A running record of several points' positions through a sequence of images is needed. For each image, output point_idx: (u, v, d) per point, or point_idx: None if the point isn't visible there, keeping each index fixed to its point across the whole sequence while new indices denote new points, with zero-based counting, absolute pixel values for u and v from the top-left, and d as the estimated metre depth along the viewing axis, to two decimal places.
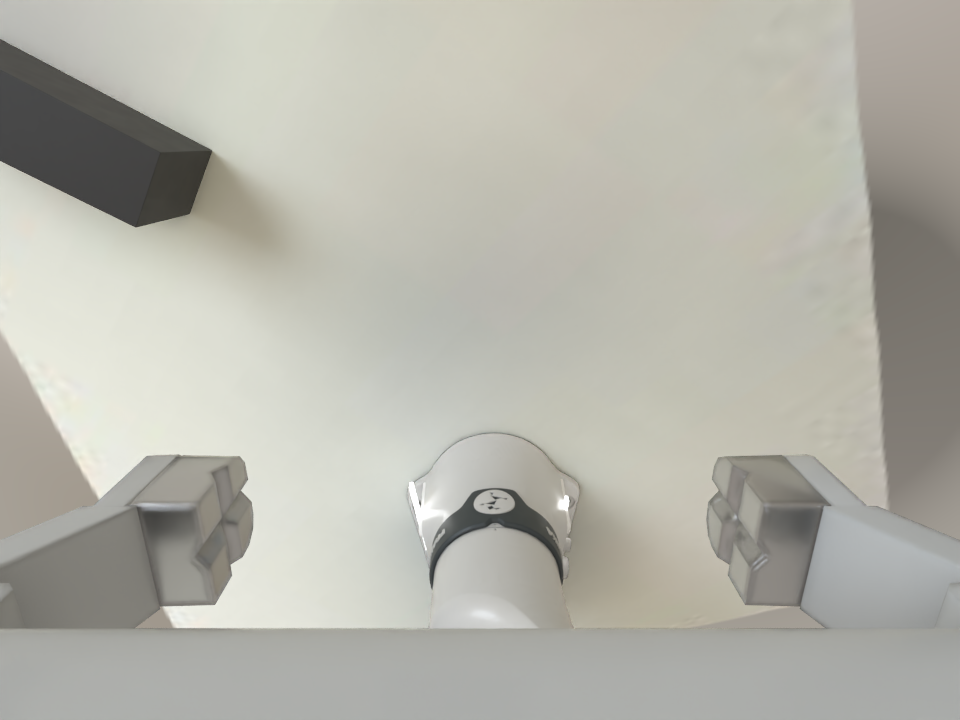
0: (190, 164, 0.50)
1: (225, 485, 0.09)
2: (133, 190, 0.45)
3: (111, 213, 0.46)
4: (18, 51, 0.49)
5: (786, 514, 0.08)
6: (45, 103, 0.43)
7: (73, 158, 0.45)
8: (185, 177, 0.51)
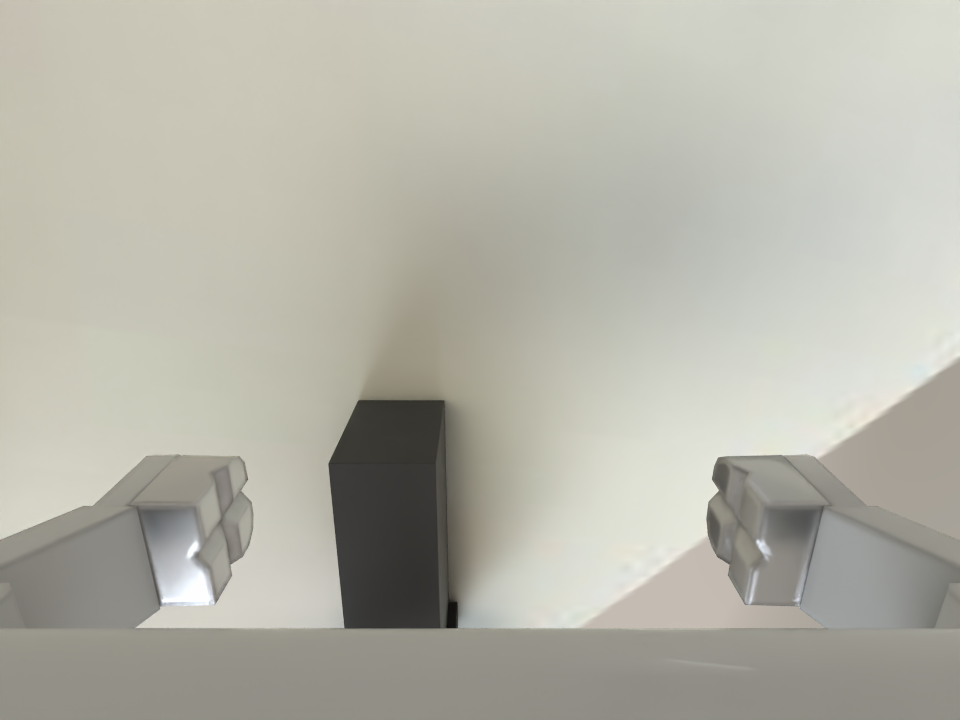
0: (366, 420, 0.40)
1: (225, 485, 0.09)
2: (391, 478, 0.35)
3: (433, 492, 0.35)
4: None
5: (786, 514, 0.08)
6: (350, 580, 0.38)
7: (392, 544, 0.37)
8: (384, 420, 0.40)
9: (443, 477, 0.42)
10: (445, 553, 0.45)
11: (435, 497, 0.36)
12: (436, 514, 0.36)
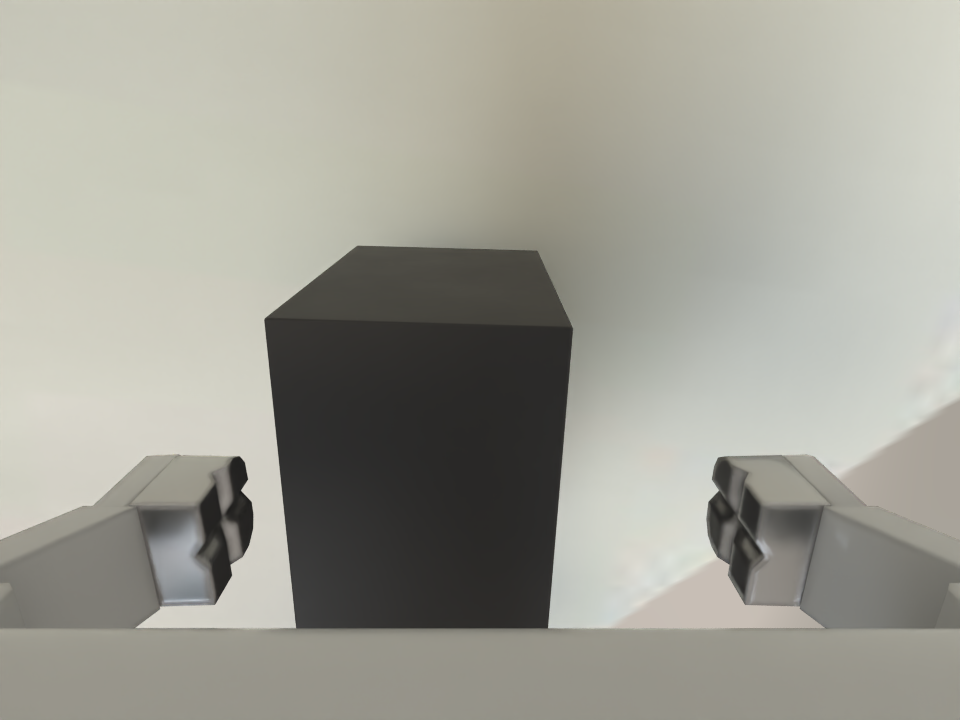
0: (374, 265, 0.17)
1: (225, 485, 0.09)
2: (441, 369, 0.12)
3: (558, 415, 0.13)
4: None
5: (786, 514, 0.08)
6: None
7: (435, 553, 0.14)
8: (415, 266, 0.17)
9: None
10: None
11: (561, 429, 0.13)
12: (558, 477, 0.13)
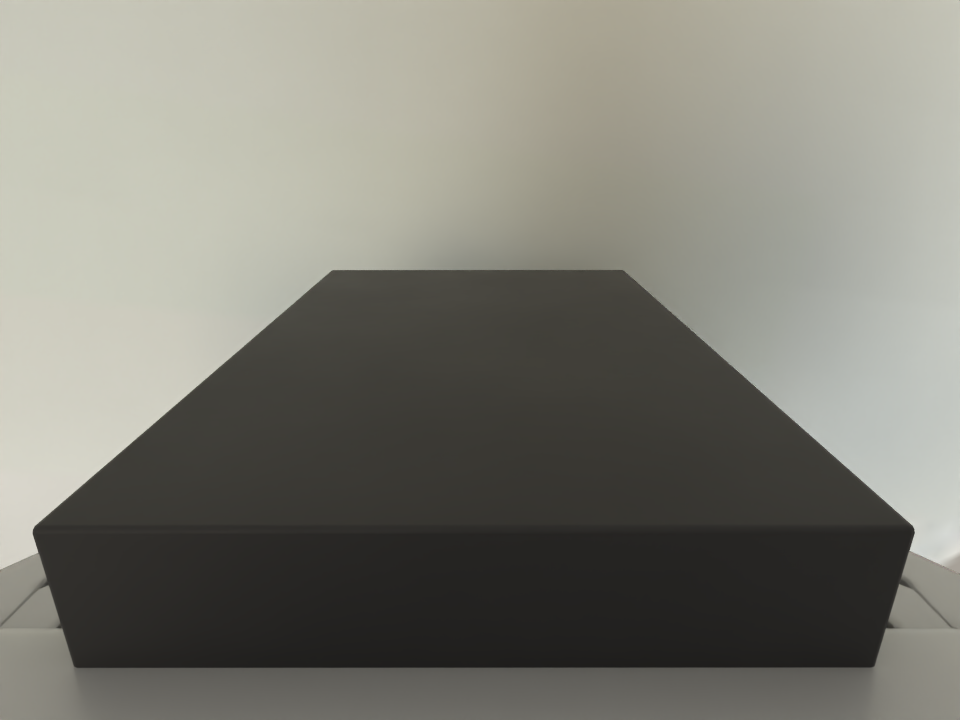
0: (357, 311, 0.10)
1: None
2: (537, 639, 0.05)
3: None
4: None
5: None
6: None
7: None
8: (433, 311, 0.10)
9: None
10: None
11: None
12: None
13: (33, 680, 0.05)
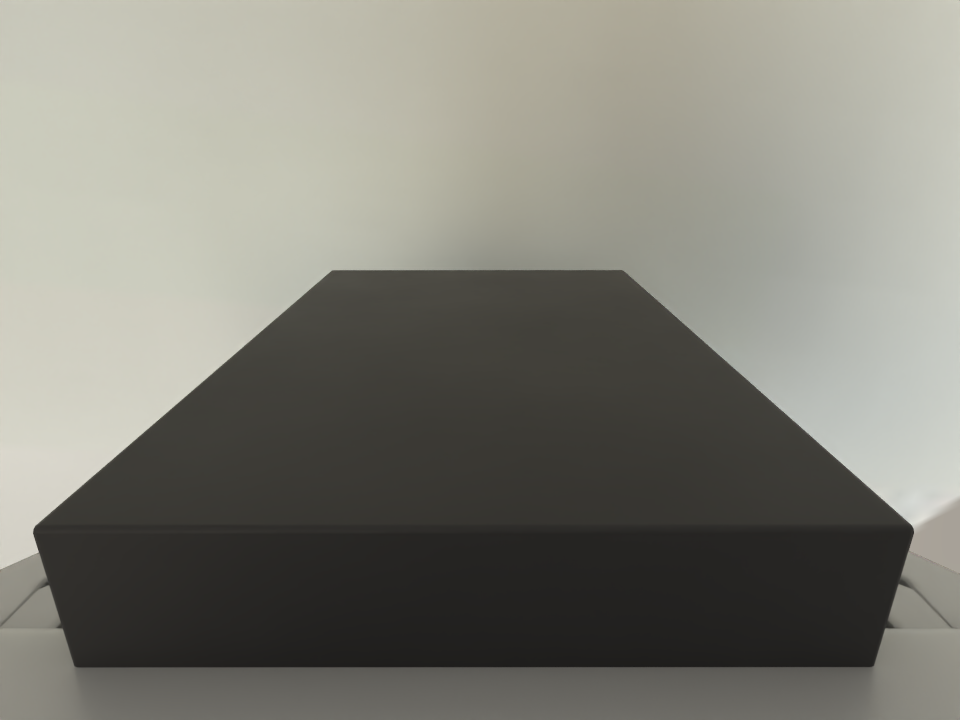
0: (357, 311, 0.10)
1: None
2: (537, 638, 0.05)
3: None
4: None
5: None
6: None
7: None
8: (433, 311, 0.10)
9: None
10: None
11: None
12: None
13: (33, 680, 0.05)
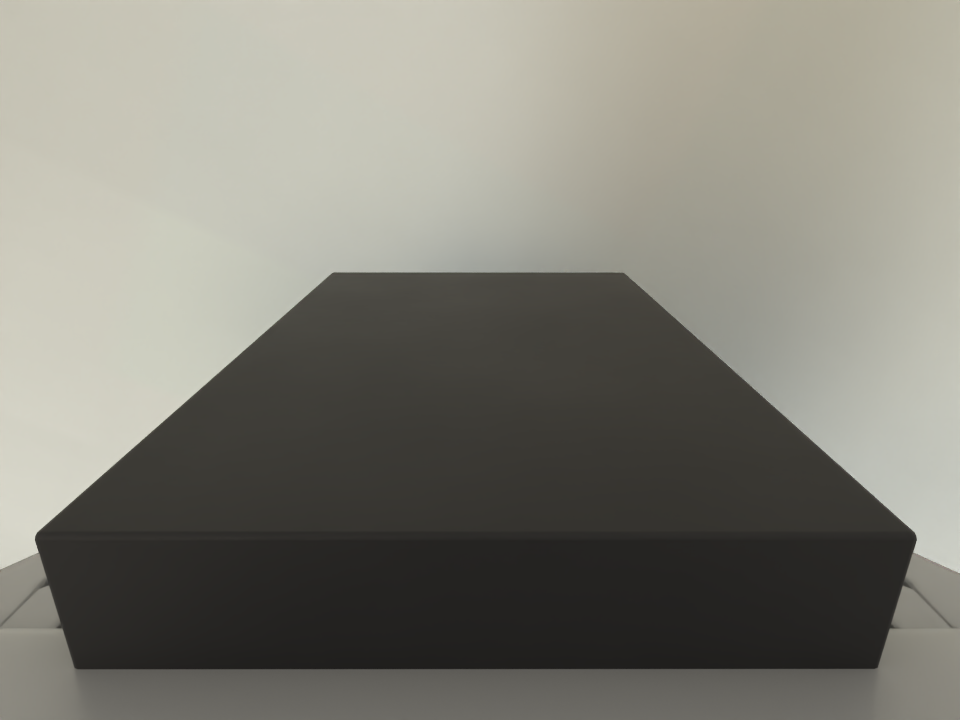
0: (358, 314, 0.10)
1: None
2: (539, 645, 0.05)
3: None
4: None
5: None
6: None
7: None
8: (434, 314, 0.10)
9: None
10: None
11: None
12: None
13: (33, 680, 0.05)
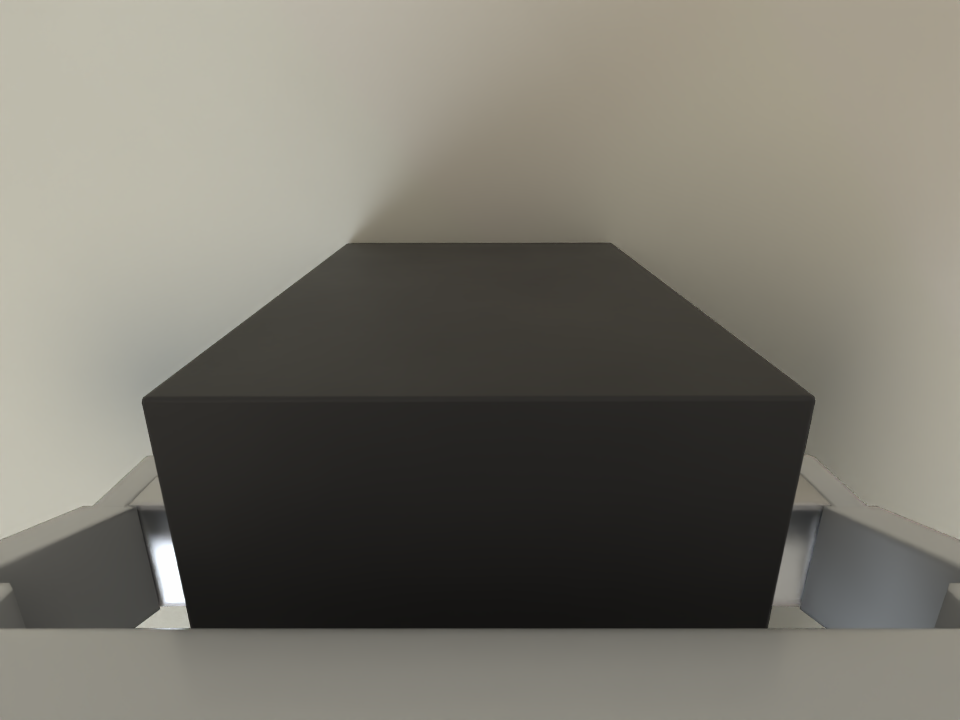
0: (373, 271, 0.11)
1: None
2: (528, 491, 0.06)
3: (765, 571, 0.06)
4: None
5: None
6: None
7: None
8: (440, 271, 0.11)
9: None
10: None
11: (769, 596, 0.06)
12: None
13: (33, 680, 0.05)
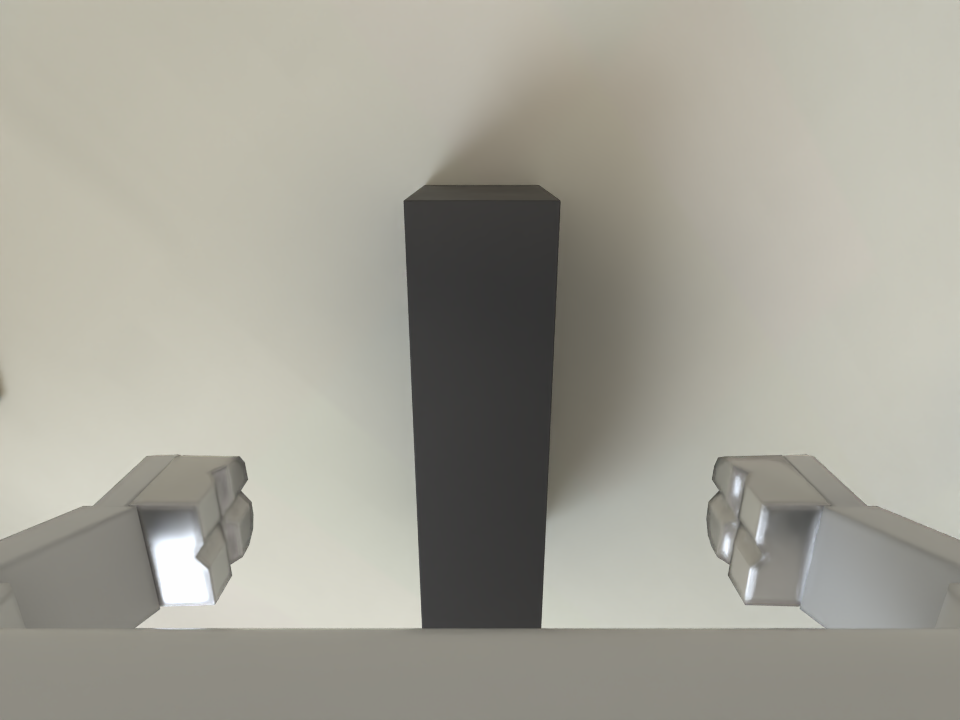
0: (442, 189, 0.29)
1: (225, 485, 0.09)
2: (493, 225, 0.24)
3: (554, 250, 0.24)
4: None
5: (786, 514, 0.08)
6: (427, 393, 0.27)
7: (490, 334, 0.26)
8: (467, 189, 0.29)
9: None
10: None
11: (556, 257, 0.25)
12: (555, 286, 0.25)
13: (33, 680, 0.05)
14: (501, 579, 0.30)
